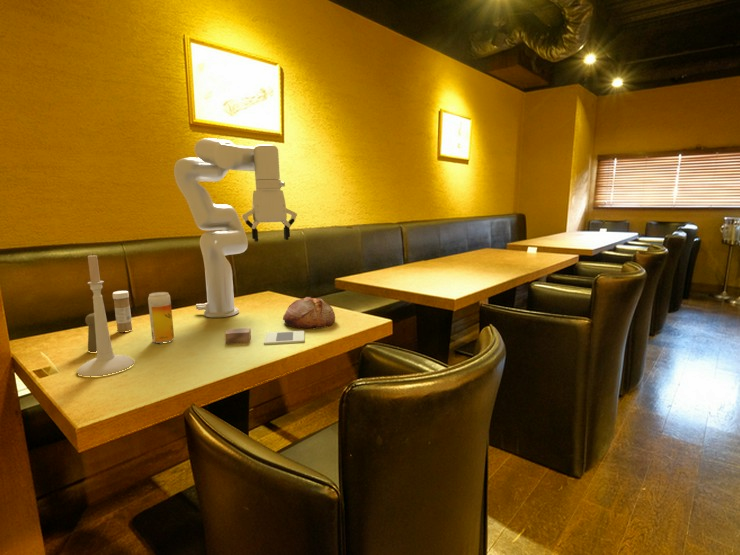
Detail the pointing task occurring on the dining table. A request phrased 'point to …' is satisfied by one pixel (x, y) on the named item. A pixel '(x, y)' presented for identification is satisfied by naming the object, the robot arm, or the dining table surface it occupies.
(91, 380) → the dining table surface
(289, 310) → the bread
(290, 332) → the mat
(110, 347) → the candlestick
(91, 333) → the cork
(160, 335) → the beer can
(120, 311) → the sprinkles bottle
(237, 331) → the brown rectangular block
